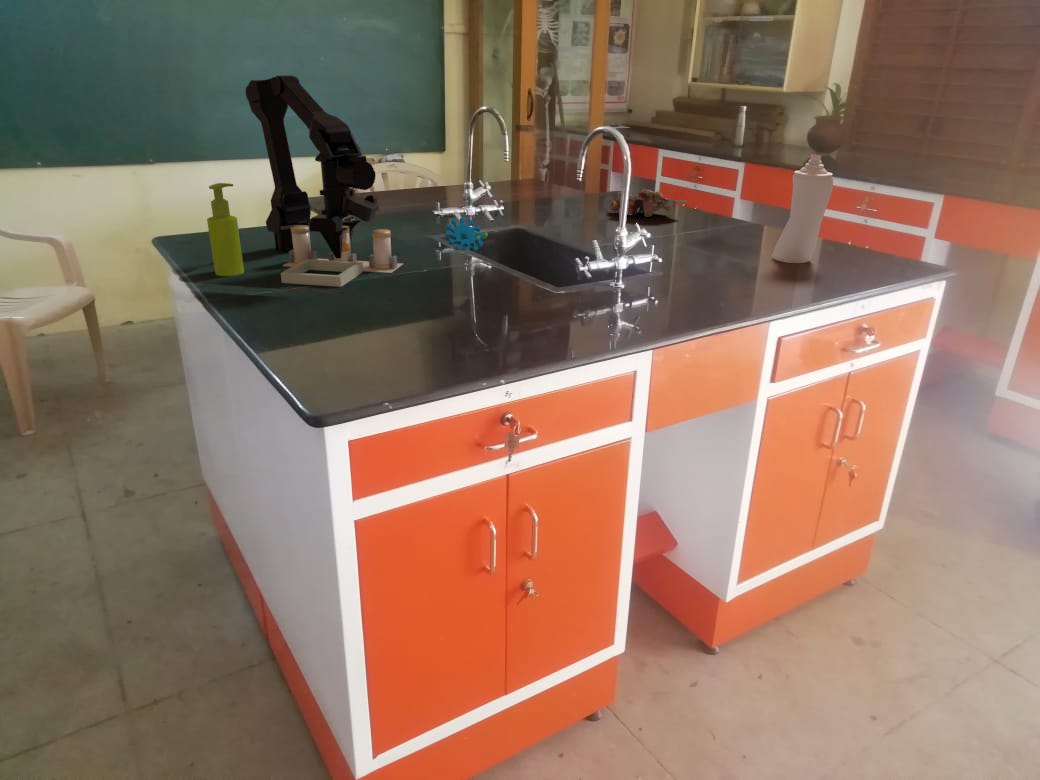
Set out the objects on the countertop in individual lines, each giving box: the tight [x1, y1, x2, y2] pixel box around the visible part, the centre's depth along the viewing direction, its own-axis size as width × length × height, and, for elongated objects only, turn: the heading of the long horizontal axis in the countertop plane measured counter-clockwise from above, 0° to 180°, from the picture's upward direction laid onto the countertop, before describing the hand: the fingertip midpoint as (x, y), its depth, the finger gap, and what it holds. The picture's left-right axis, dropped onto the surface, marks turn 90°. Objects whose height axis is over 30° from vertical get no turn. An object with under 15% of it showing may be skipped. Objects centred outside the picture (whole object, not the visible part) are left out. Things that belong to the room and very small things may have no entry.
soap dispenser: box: [206, 182, 245, 277], centre depth 162 cm, size 6×7×20 cm
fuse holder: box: [281, 250, 404, 274], centre depth 172 cm, size 26×8×4 cm, turn 79°
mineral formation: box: [609, 188, 687, 217], centre depth 233 cm, size 23×16×10 cm
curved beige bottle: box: [771, 153, 834, 264], centre depth 181 cm, size 12×11×25 cm
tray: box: [280, 259, 364, 295], centre depth 162 cm, size 13×12×4 cm
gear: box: [444, 217, 489, 252], centre depth 193 cm, size 11×6×10 cm
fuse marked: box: [333, 225, 352, 262], centre depth 170 cm, size 4×4×8 cm
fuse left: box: [291, 225, 312, 264], centre depth 172 cm, size 4×4×8 cm
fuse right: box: [371, 228, 392, 270], centre depth 169 cm, size 4×4×8 cm
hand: (342, 256), depth 171 cm, fingers closed on fuse marked, 4 cm apart
